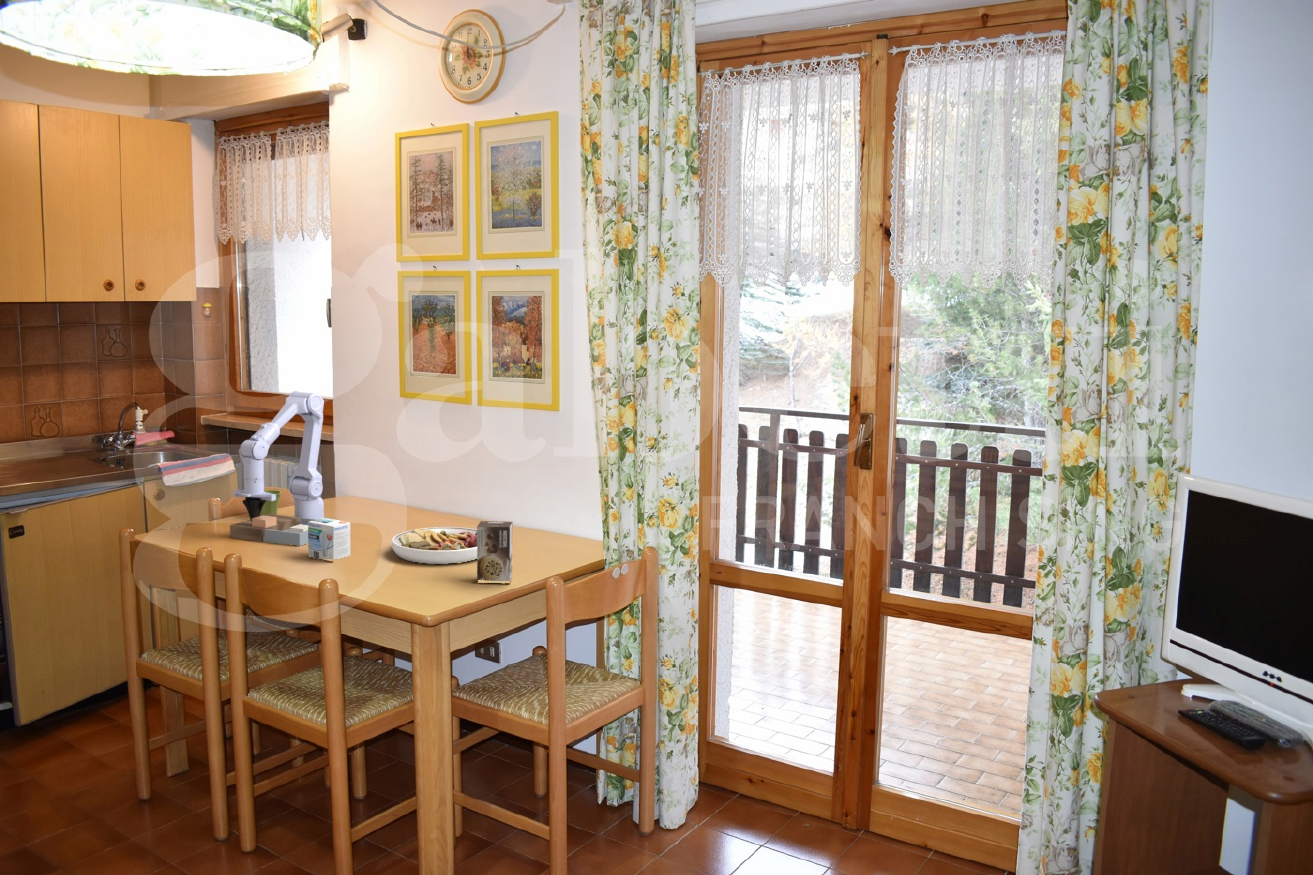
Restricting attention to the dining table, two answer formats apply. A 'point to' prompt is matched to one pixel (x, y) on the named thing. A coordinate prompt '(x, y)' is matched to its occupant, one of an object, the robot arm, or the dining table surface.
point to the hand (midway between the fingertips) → (254, 521)
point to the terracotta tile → (264, 521)
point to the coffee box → (494, 551)
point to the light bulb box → (328, 539)
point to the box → (288, 535)
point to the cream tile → (299, 528)
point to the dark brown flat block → (256, 533)
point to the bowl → (436, 545)
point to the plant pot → (271, 504)
